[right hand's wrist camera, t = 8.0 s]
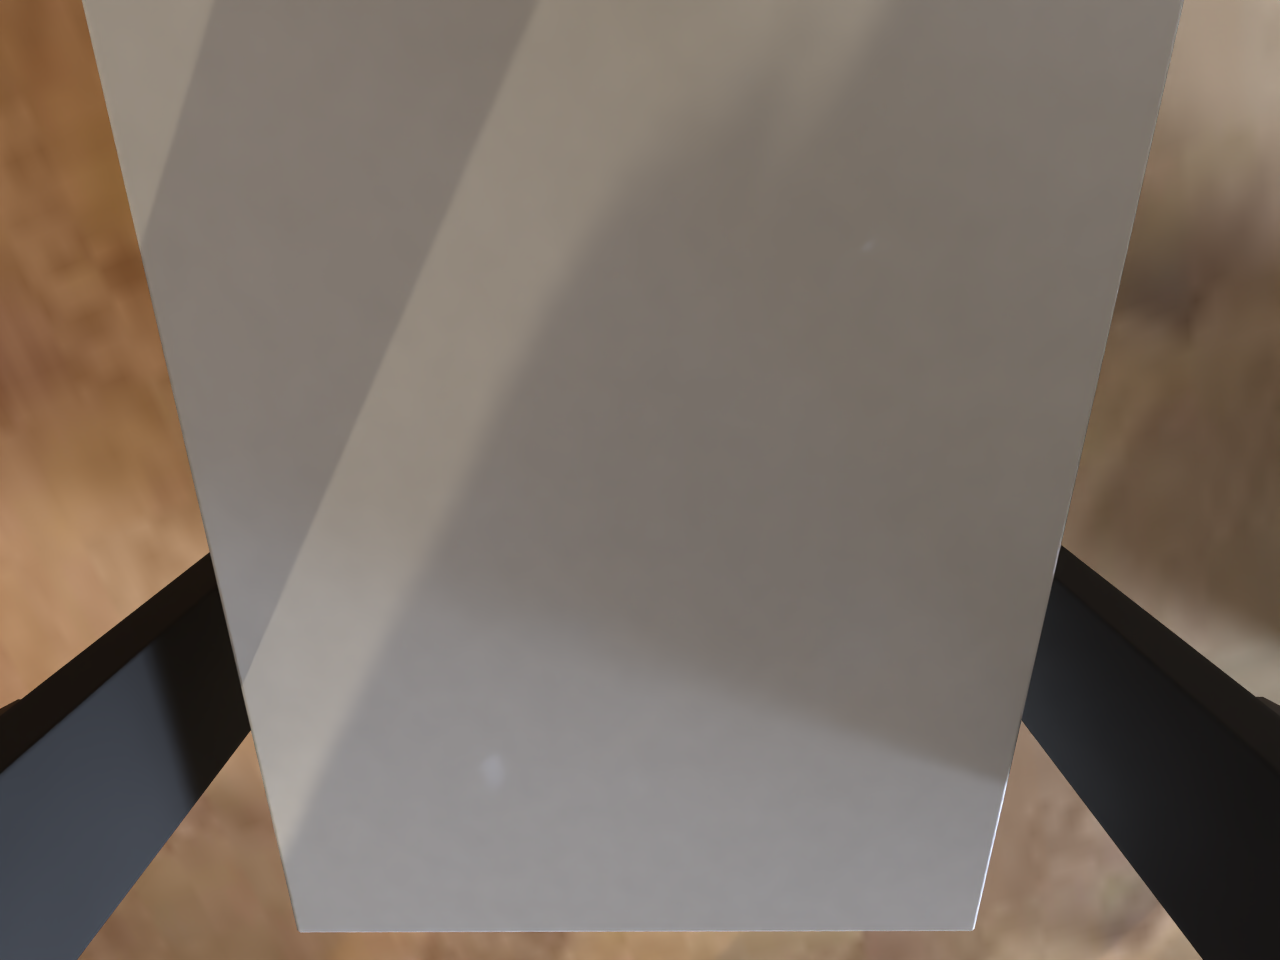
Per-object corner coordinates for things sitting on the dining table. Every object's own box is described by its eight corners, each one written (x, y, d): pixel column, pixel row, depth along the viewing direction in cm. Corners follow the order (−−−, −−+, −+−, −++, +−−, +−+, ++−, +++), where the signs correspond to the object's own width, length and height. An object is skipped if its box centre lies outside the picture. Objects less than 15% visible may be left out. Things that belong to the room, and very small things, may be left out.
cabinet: (369, -219, 14) (-184, -1125, 4) (901, -218, 14) (1441, -1120, 5) (454, 604, 20) (296, 934, 11) (819, 604, 20) (975, 932, 11)
